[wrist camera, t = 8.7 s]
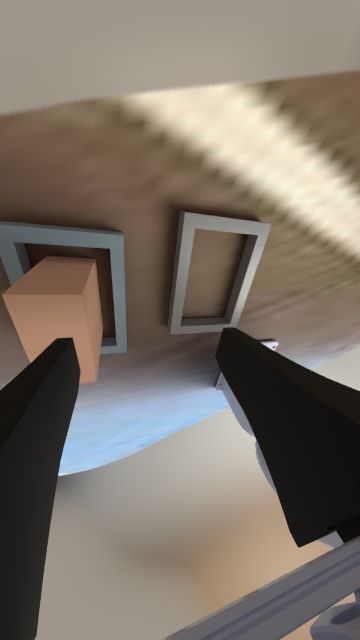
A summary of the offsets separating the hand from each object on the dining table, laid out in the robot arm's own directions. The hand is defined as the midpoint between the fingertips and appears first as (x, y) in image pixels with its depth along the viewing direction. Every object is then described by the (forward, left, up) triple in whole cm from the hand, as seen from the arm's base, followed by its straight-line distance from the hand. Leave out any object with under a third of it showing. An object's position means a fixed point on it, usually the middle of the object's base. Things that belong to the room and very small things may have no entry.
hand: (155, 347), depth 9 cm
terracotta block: (-2, +5, -10) cm, 12 cm away
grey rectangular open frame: (0, -7, -10) cm, 12 cm away
